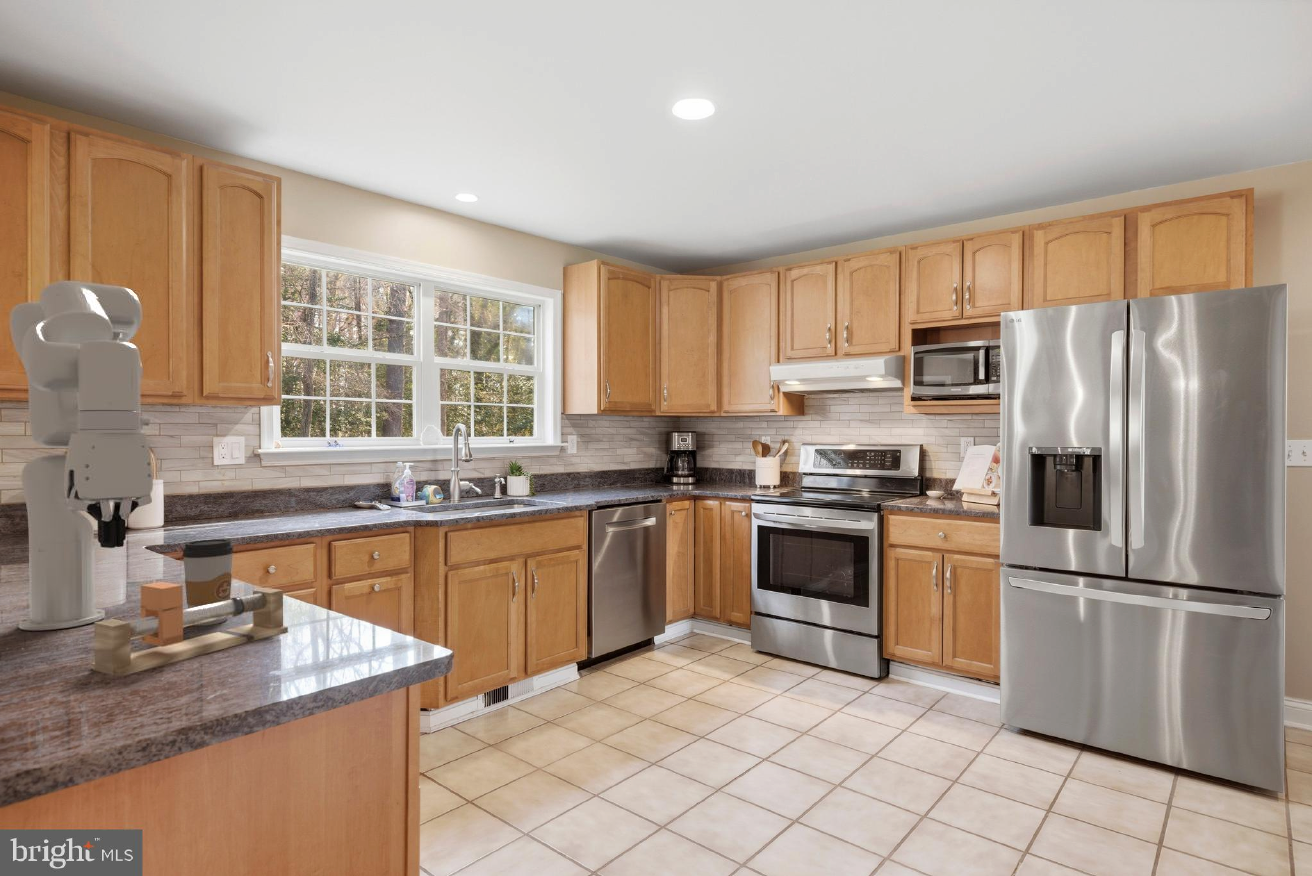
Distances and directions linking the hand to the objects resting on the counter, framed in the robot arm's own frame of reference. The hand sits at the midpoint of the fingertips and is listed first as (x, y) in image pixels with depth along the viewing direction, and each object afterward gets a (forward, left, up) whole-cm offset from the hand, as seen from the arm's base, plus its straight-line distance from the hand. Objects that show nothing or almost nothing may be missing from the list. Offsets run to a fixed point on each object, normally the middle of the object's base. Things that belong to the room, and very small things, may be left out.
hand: (112, 546), depth 109 cm
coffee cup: (-16, +24, -19) cm, 35 cm away
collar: (0, +7, -16) cm, 18 cm away
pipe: (0, +13, -15) cm, 19 cm away
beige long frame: (0, +13, -19) cm, 23 cm away
